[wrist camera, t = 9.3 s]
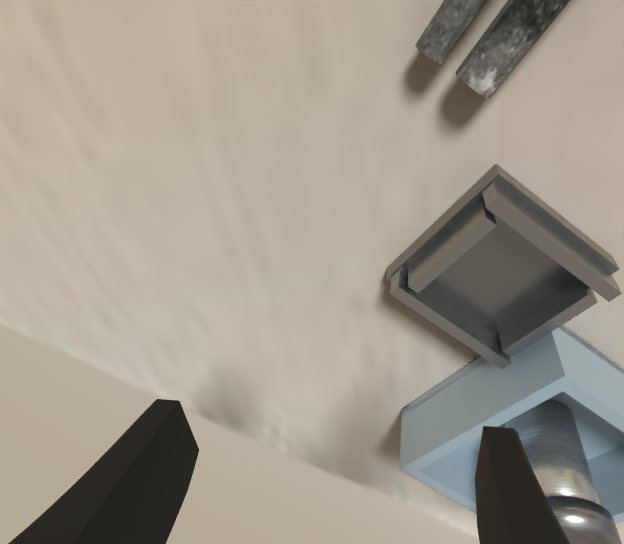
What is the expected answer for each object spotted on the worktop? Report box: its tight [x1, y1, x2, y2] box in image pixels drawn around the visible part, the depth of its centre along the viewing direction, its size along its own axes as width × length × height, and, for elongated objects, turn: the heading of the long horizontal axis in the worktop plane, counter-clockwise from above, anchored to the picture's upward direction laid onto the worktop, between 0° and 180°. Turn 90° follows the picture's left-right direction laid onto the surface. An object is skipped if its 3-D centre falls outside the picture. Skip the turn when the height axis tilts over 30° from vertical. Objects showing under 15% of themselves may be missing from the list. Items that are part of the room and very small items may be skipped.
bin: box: [400, 325, 624, 524], centre depth 22 cm, size 9×9×4 cm
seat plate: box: [386, 164, 622, 369], centre depth 18 cm, size 6×6×2 cm
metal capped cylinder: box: [503, 399, 621, 544], centre depth 21 cm, size 4×4×6 cm
